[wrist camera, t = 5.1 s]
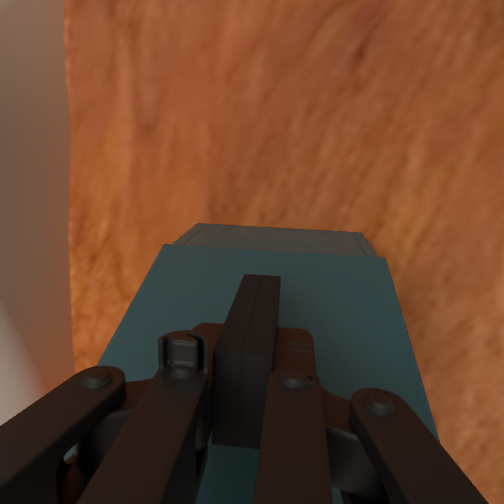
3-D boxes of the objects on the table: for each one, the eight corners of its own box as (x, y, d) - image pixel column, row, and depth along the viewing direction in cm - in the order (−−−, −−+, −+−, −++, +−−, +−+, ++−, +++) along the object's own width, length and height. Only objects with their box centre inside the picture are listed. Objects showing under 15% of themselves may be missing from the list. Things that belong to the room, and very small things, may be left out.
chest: (344, 391, 34) (357, 460, 27) (196, 377, 35) (170, 440, 28) (361, 232, 31) (382, 260, 23) (197, 223, 32) (166, 247, 24)
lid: (469, 579, 11) (478, 566, 10) (24, 521, 12) (16, 507, 12) (383, 268, 23) (386, 257, 22) (165, 254, 24) (163, 243, 24)
